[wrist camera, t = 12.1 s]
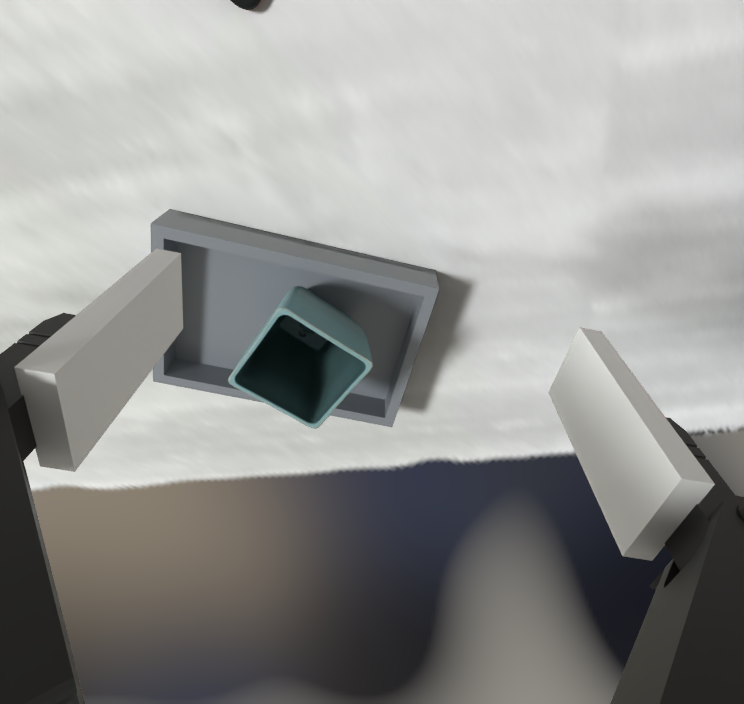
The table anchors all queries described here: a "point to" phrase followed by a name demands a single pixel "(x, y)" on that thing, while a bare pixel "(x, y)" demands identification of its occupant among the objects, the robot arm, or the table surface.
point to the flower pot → (304, 358)
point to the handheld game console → (246, 3)
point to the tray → (267, 289)
